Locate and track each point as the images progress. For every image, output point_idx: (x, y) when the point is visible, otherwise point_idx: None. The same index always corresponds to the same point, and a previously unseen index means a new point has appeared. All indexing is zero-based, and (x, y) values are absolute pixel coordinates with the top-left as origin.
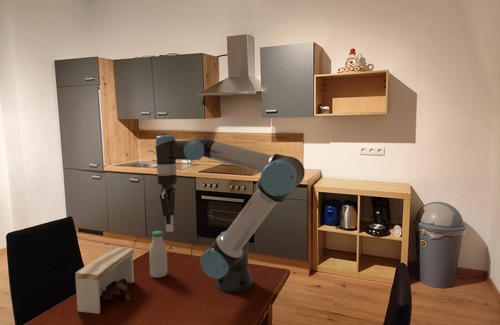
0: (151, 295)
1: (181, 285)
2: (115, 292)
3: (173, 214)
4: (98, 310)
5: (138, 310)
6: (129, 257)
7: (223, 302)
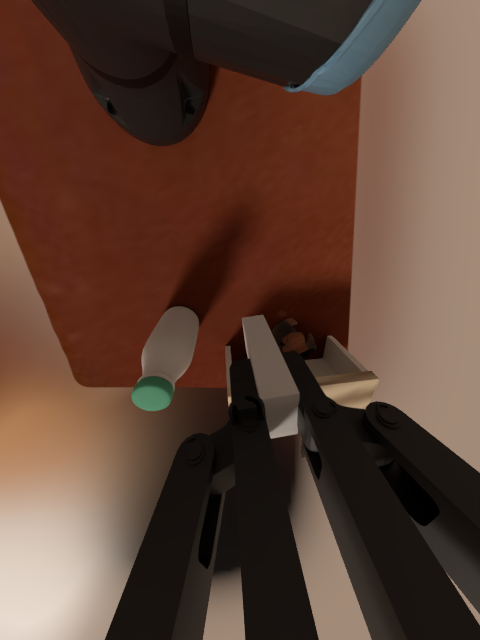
0: (267, 290)
1: (211, 249)
2: (313, 340)
3: (255, 401)
4: (333, 338)
5: (320, 284)
6: None
7: None
